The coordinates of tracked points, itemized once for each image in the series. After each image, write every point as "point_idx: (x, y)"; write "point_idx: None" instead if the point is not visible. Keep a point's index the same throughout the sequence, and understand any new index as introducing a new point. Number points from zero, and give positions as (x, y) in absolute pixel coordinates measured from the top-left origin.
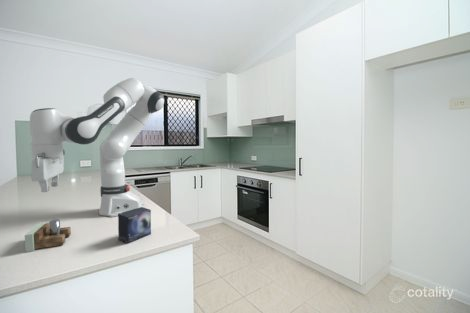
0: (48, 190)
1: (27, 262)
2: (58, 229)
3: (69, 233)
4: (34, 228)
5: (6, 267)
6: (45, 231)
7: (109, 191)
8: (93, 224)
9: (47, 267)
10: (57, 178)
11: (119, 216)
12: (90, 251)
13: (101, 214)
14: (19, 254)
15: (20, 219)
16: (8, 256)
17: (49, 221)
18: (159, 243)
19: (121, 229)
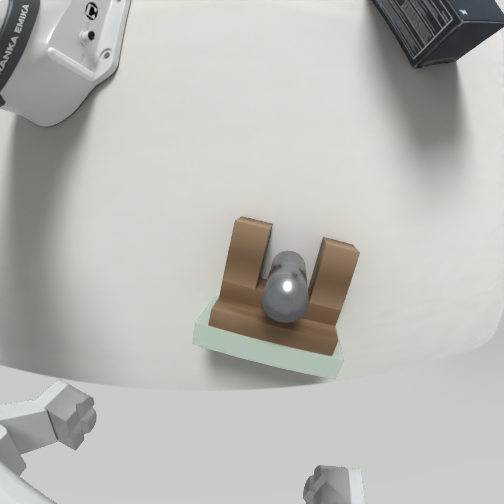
0: (342, 470)
1: (412, 328)
2: (302, 272)
3: (259, 222)
4: (266, 358)
5: (403, 366)
6: None
7: (12, 49)
8: (162, 131)
9: (476, 278)
10: (12, 422)
11: (468, 27)
12: (456, 166)
13: (71, 111)
14: None
15: (30, 347)
16: None
17: (279, 321)
18: None
19: (453, 48)
